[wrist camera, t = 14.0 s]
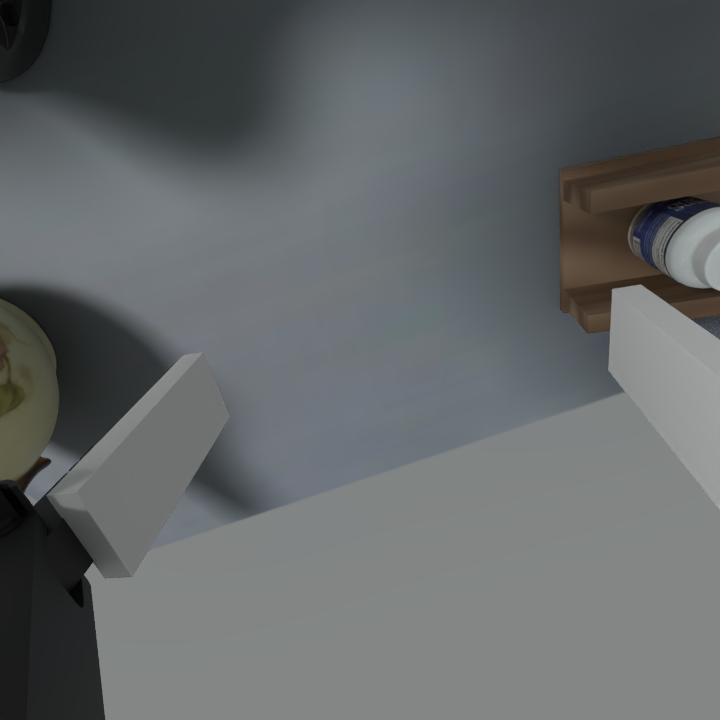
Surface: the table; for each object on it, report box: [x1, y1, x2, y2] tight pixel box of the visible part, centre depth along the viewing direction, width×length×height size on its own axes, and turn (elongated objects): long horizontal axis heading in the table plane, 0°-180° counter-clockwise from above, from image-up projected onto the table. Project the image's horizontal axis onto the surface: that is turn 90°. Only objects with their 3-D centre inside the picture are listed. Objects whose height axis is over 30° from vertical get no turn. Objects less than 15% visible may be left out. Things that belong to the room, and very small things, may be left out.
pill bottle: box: [628, 196, 720, 291], centre depth 31 cm, size 5×5×10 cm
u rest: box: [560, 137, 720, 333], centre depth 33 cm, size 12×13×7 cm
